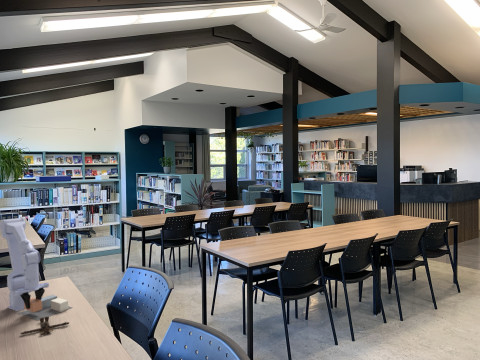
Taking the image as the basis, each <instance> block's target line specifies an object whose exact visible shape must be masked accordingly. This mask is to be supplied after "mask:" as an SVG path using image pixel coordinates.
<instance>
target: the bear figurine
mask: <svg viewBox="0 0 480 360" xmlns="http://www.w3.org/2000/svg"><path fill="white" fill-rule="evenodd" d="M49 320H50V317H47V316H46V317H45V318H44V317H43V318H40V320H39V323H40V326H41V327H39V328H38V327H37V328H35V329H31V330H24V331H23V332H20V335H22V336H23V335H27V334H32V333H35V332H37V333H38V332H39V334H40V335H43V334H44V335H48V334H49V333H51V332H53V331H54V330H53V329H54V328H58V327H64V326H68V325H70V322H68V321H65V322H62V323H58V324H53V325H52V324H51V325H50V323H49Z"/></svg>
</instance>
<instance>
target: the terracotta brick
mask: <svg viewBox="0 0 480 360" xmlns="http://www.w3.org/2000/svg"><path fill="white" fill-rule="evenodd" d="M23 310H25V311H26V310H29V311H31V312H36V311H39V310H42V301H41V300H38V299H36V297H30V309H27V308H26V306H25V303H24V309H23Z"/></svg>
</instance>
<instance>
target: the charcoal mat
mask: <svg viewBox="0 0 480 360" xmlns="http://www.w3.org/2000/svg"><path fill="white" fill-rule="evenodd" d="M71 309H73V307H71V306H69V305H68V309H67V310H64V311H62V312H59V311H56V310H54V309H51V306H50V307H47V308H45V309H42V310H39V311H36V312H31V311H29V310H26V309H25V310H24V311H23V310H22V311H21V312H18V313H17V314H19V315H21V316H24V317H26V318H29V319H32V320H33V321H37V322H40V318H43V317H44V319H45V317H46V316H47V317H49V318H50V317H51V316H52V317H53V316H55V315H58V314H60V313H63V312H66V311H68V310H71Z"/></svg>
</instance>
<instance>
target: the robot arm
mask: <svg viewBox="0 0 480 360" xmlns="http://www.w3.org/2000/svg"><path fill="white" fill-rule="evenodd" d="M26 222H27V221H26V219H25V218H24V217H16V218H9V219H8V218H7V219H1V221H0V234H1V237H2V238H4V239H5V240H6V243H7V248H8V253H9V260H10V262H11V269H12V271H11V272H10V273H9V274H8V275H7V277H6V280H7V281H6V282H7V283H6V287H7V288H8V290H9V292H8V293H9V294H8V302H9V305H8V306H7V308H8V309H10V310H12V311H14V312H19V311H23V310H25V309H24V303H25V306H26V308H27V309H30V298H32V296H31V294H30V293H31V292H34V296H35V299H38V300H41V299H42V298H43V296H44V294H45V291H46V290H45V288H46V289H47V288H49V287H50V283H49V282H43V283H40V273H39V270H40V269H39V264H40V262H41V254H40V252H39V251H38V250H37V249H35V247H34V245H33V243H32V241H31V240H29V239H28V238H27V235H26V232H25V231H26V225H27V223H26Z"/></svg>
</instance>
